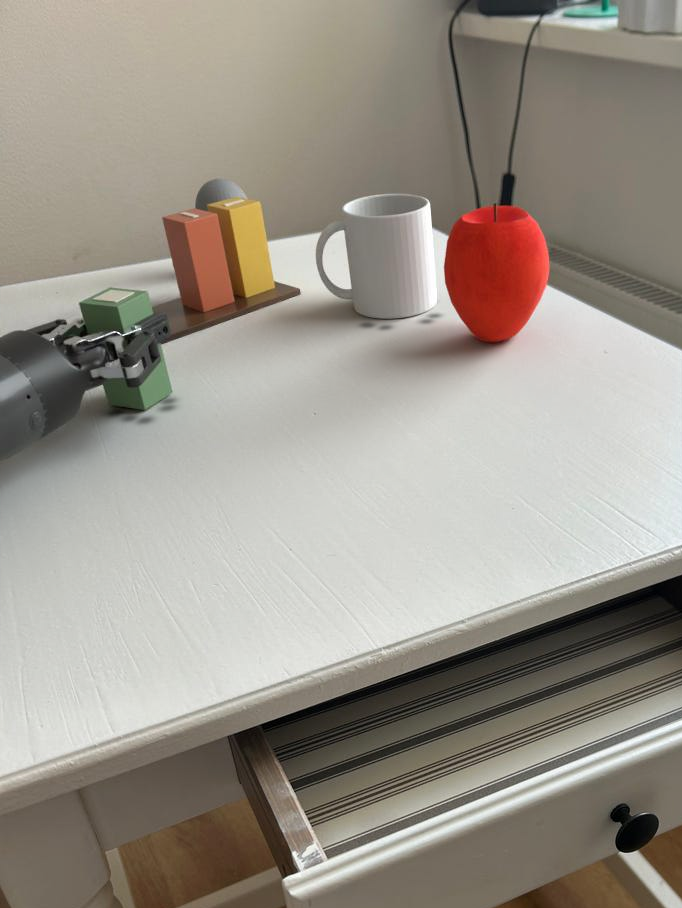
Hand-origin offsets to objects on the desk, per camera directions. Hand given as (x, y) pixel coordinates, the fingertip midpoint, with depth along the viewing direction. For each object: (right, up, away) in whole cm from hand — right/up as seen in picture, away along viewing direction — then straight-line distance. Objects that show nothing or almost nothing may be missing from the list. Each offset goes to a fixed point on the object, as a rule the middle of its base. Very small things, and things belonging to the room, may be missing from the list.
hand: (143, 320), depth 85 cm
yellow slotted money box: (+4, +11, +23) cm, 26 cm away
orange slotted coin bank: (0, +8, +20) cm, 22 cm away
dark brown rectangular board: (0, +7, +20) cm, 21 cm away
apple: (+31, +1, +10) cm, 33 cm away
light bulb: (0, +16, +31) cm, 35 cm away
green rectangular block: (-1, -6, +2) cm, 7 cm away
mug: (+19, +8, +19) cm, 28 cm away
